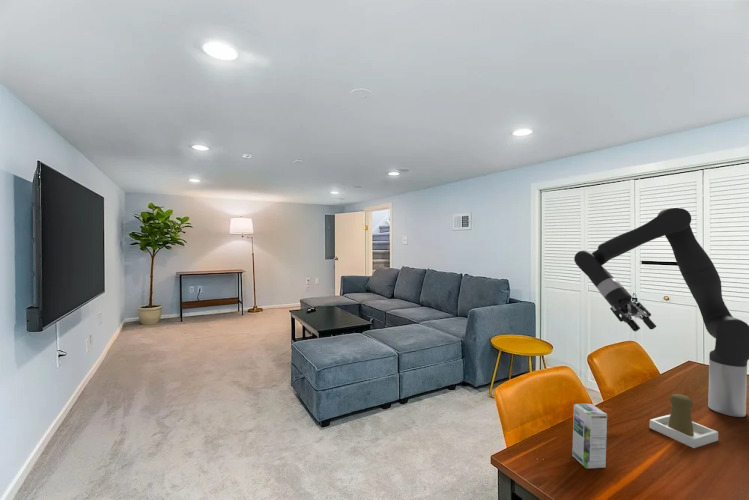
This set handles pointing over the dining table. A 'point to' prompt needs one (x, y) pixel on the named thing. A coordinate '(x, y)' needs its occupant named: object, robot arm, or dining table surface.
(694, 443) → the keeper tray
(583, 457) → the syrup box
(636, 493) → the dining table surface
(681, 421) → the cork
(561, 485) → the dining table surface
